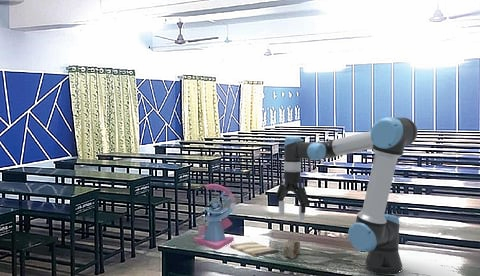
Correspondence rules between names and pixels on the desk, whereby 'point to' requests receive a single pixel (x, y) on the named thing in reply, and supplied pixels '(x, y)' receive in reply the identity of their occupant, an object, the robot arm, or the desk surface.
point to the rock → (292, 247)
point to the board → (254, 249)
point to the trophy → (216, 221)
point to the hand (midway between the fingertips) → (291, 217)
